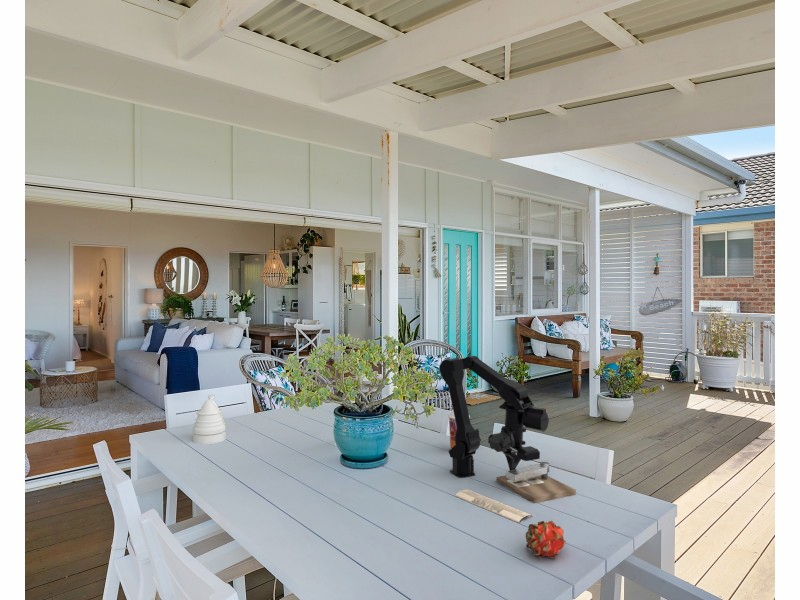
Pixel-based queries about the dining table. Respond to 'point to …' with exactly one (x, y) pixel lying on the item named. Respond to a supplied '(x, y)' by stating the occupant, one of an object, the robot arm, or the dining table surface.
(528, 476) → the swing bar
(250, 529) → the dining table surface
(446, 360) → the robot arm
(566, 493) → the label board
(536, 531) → the dragon fruit
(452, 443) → the smoothie
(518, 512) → the beige long curved strip
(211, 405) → the honey pot
